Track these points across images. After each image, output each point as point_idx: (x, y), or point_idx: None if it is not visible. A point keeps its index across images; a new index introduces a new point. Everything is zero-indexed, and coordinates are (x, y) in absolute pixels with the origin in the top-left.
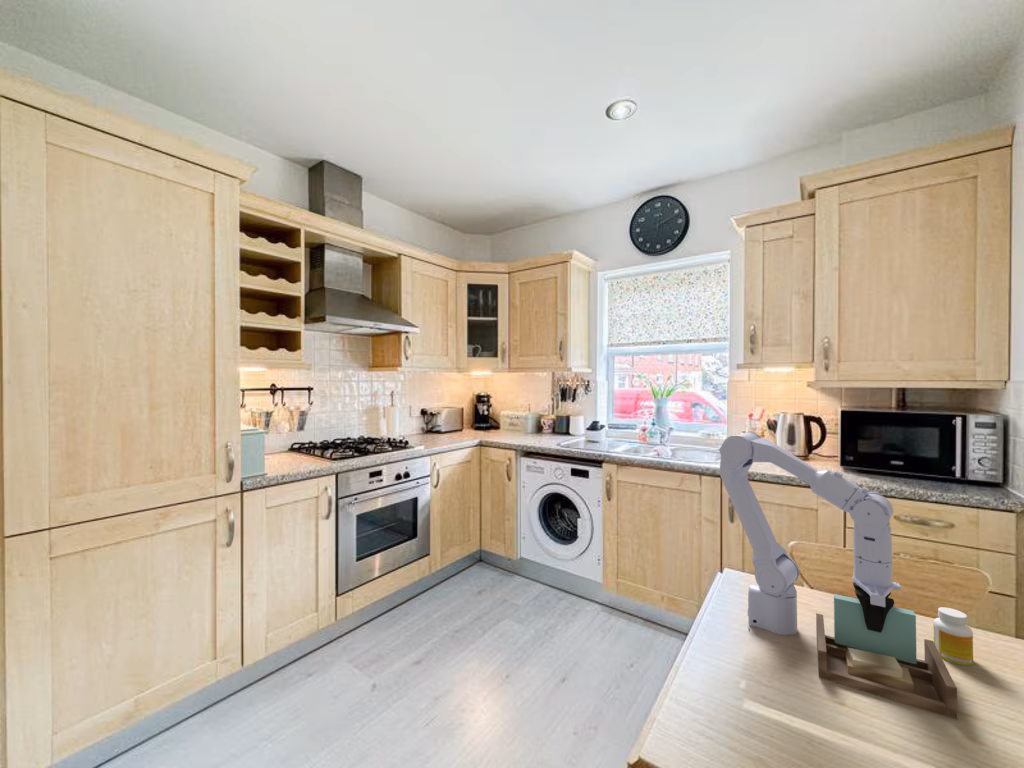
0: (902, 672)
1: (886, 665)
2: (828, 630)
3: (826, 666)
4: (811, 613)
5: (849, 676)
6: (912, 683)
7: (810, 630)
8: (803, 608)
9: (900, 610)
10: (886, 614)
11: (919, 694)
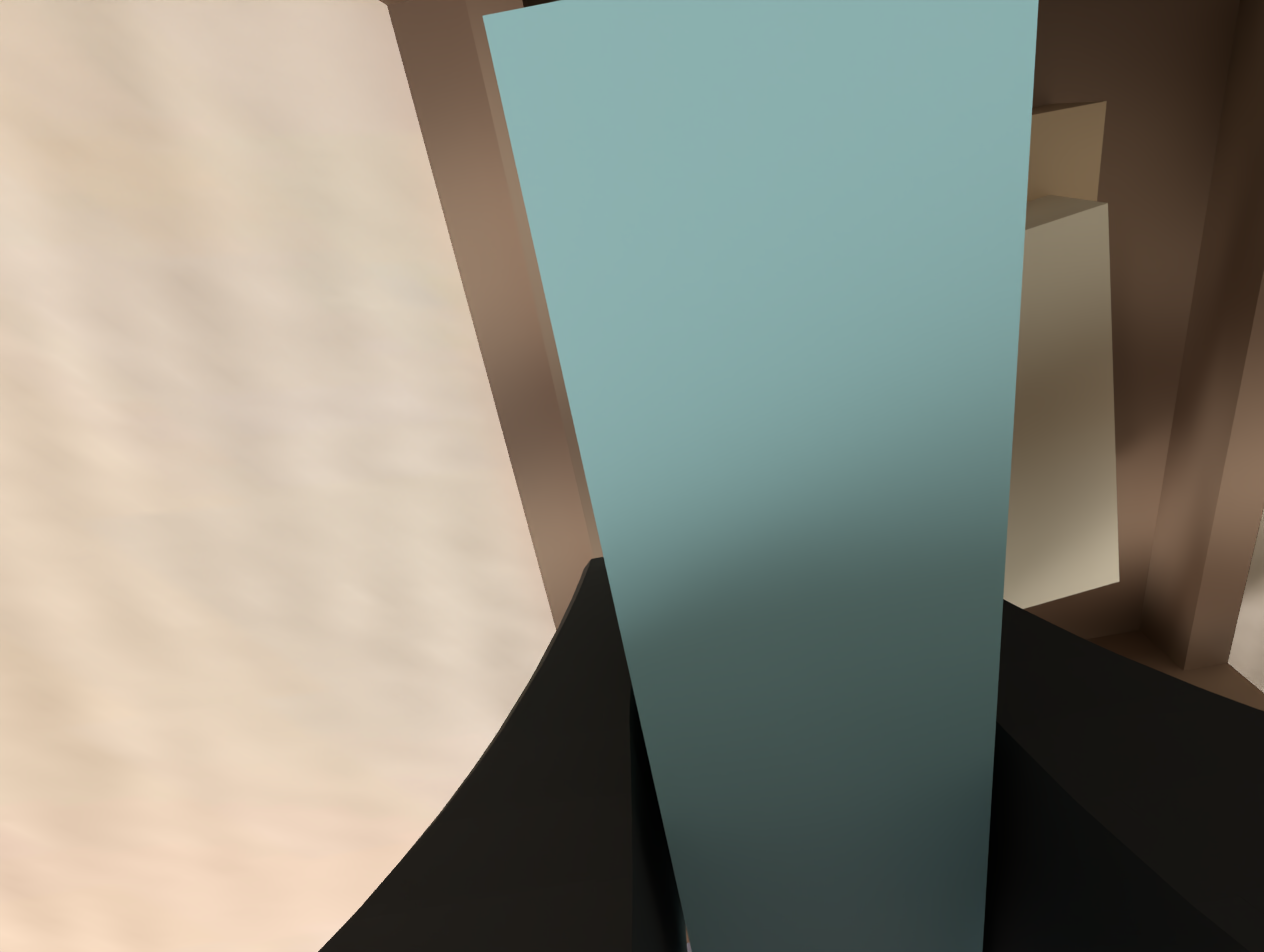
0: (1087, 203)
1: (1083, 346)
2: (333, 707)
3: (1255, 690)
4: (146, 827)
5: (1231, 545)
6: (1091, 110)
7: (449, 783)
8: (114, 873)
9: (833, 459)
10: (1214, 694)
11: (1050, 55)
